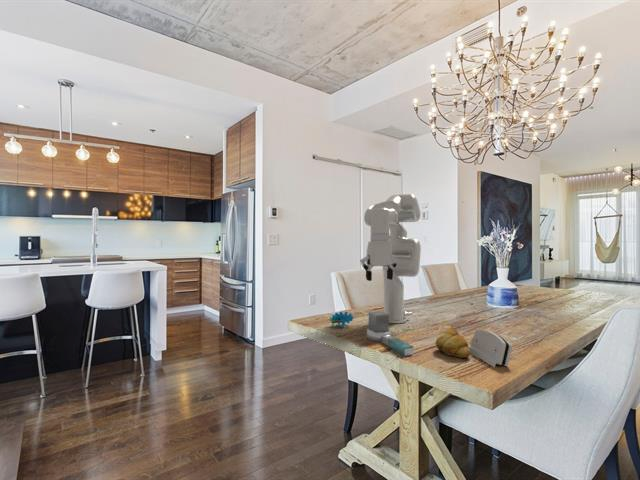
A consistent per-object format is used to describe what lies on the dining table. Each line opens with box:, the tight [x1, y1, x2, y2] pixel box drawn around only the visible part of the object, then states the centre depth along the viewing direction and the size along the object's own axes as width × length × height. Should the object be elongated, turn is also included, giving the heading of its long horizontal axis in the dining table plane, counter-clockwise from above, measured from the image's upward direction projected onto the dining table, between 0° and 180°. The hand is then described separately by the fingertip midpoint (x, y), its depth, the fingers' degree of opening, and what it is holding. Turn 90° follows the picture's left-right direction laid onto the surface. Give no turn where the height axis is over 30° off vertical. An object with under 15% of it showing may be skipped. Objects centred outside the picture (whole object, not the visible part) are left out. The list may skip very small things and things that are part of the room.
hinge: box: [468, 329, 513, 368], centre depth 117 cm, size 17×5×10 cm, turn 8°
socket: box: [368, 310, 390, 333], centre depth 138 cm, size 6×6×7 cm
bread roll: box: [435, 327, 471, 359], centre depth 120 cm, size 13×10×8 cm
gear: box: [329, 311, 354, 329], centre depth 154 cm, size 11×6×10 cm
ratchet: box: [366, 327, 414, 357], centre depth 130 cm, size 10×26×8 cm, turn 20°
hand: (379, 279), depth 138 cm, fingers open, 9 cm apart
